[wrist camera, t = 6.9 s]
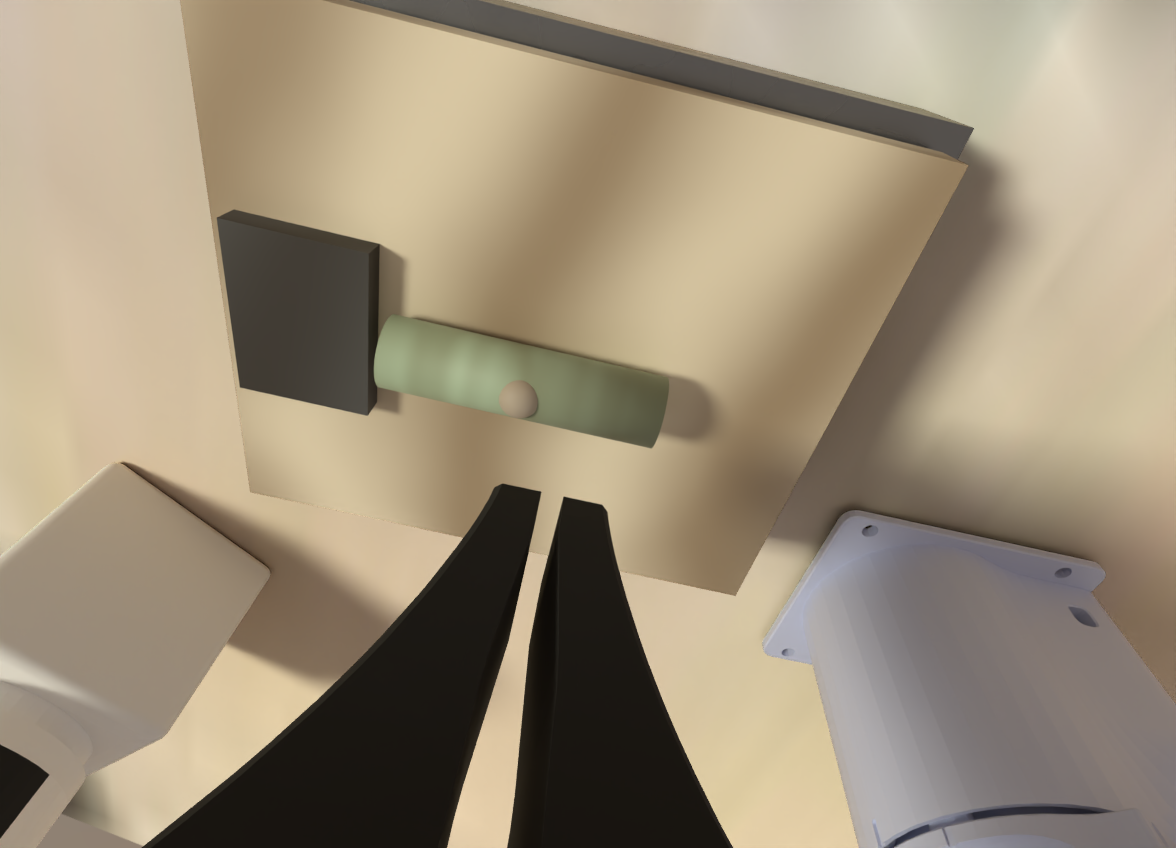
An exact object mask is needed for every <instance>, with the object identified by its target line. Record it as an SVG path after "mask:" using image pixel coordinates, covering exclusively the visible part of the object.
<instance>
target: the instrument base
mask: <svg viewBox="0 0 1176 848" xmlns="http://www.w3.org/2000/svg"><path fill="white" fill-rule="evenodd" d="M350 1H354V2H358V3H362V4H366V5H369V6H373V7H377V8H381V9H385V10H389V11H393V12H397V13H401V14H405V15H409V16H412V17H416V18H420V19H424V20H428V21H432V22H436V23H440V24H444V25H448V26H451V27H455V28H459V29H463V30H467V31H471V32H475V33H479V34H483V35H487V36H491V37H494V38H498V39H502V40H506V41H510V42H514V43H518V44H522V45H526V46H530V47H533V48H537V49H541V50H545V51H549V52H553V53H557V54H561V55H565V56H569V57H572V58H576V59H580V60H584V61H588V62H592V63H596V64H600V65H604V66H608V67H612V68H615V69H619V70H623V71H627V72H631V73H635V74H639V75H643V76H647V77H651V78H654V79H658V80H662V81H666V82H670V83H674V84H678V85H682V86H686V87H690V88H694V89H697V90H701V91H705V92H709V93H713V94H717V95H721V96H725V97H729V98H733V99H736V100H740V101H744V102H748V103H752V104H756V105H760V106H764V107H768V108H772V109H776V110H779V111H783V112H787V113H791V114H795V115H799V116H803V117H807V118H811V119H815V120H818V121H822V122H826V123H830V124H834V125H838V126H842V127H846V128H850V129H854V130H858V131H861V132H865V133H869V134H873V135H877V136H881V137H885V138H889V139H893V140H897V141H900V142H904V143H908V144H912V145H916V146H920V147H924V148H928V149H932V150H936V151H940V152H943V153H945V154H947V155H949V156H951V157H953V158H955V159H957V160H958V158H959V156H960V154H961V152H962V150H963V148H964V146H965V144H966V143H967V141H968V139H969V137H970V135H971V133H972V131H973V129H974V128H972V127H969V126H967V125H964V124H961V123H959V122H956V121H953V120H951V119H948V118H945V117H943V116H940V115H937V114H935V113H932V112H929V111H927V110H924V109H921V108H917V107H913V106H909V105H905V104H902V103H898V102H894V101H890V100H886V99H882V98H878V97H875V96H871V95H867V94H863V93H859V92H855V91H851V90H848V89H844V88H840V87H836V86H832V85H828V84H824V83H821V82H817V81H813V80H809V79H805V78H801V77H797V76H794V75H790V74H786V73H782V72H778V71H774V70H770V69H767V68H763V67H759V66H755V65H751V64H747V63H743V62H740V61H736V60H732V59H728V58H724V57H720V56H716V55H713V54H709V53H705V52H701V51H697V50H693V49H689V48H686V47H682V46H678V45H674V44H670V43H666V42H662V41H659V40H655V39H651V38H647V37H643V36H639V35H635V34H632V33H628V32H624V31H620V30H616V29H612V28H608V27H604V26H601V25H597V24H593V23H589V22H585V21H581V20H577V19H574V18H570V17H566V16H562V15H558V14H554V13H550V12H547V11H543V10H539V9H535V8H531V7H527V6H523V5H520V4H516V3H512V2H508V1H504V0H350Z"/></svg>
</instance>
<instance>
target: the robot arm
mask: <svg viewBox="0 0 1176 848" xmlns="http://www.w3.org/2000/svg"><path fill="white" fill-rule="evenodd" d="M540 497H541V491H536V490H531V489H527V488H522V487H517V486H513V485H508V484H503V483H502V484H500V485H498V486H496V487H494V489H493V491H492V493H491V495H490V497H489V499H488V501H487V503H486V504H485V506H484V508H483V509H482V511H481V513H480V514H479V516H478V517H477V519H476V520H475V522H474V523H473V525H472V526H471V528H470V529H469V531H468V532H467V534H466V535H465V536H464V538H463V539H462V541H461V542H460V543H459V545H458V546H457V547H456V549H455V550H454V551H453V553H452V554H451V555H450V556H449V558H448V559H447V560H446V561H445V563H444V564H443V565H442V567H441V568H440V569H439V570H438V572H437V573H436V574H435V575H434V577H433V578H432V579H431V581H430V582H429V583H428V584H427V585H426V587H425V588H424V589H423V590H422V591H421V593H420V594H419V595H418V596H417V597H416V598H415V599H414V600H413V602H412V603H411V604H410V605H409V606H408V607H407V608H406V609H405V610H404V612H403V613H402V614H401V615H400V616H399V617H398V618H397V619H396V621H395V622H394V623H393V624H392V625H391V626H390V627H389V628H388V630H387V631H386V632H385V633H384V634H383V635H382V636H381V637H380V638H379V639H378V640H377V641H376V642H375V643H374V644H373V645H372V647H371V648H370V649H369V650H368V651H367V652H366V653H365V654H364V655H363V656H362V657H361V658H360V659H359V660H358V661H357V662H356V663H355V664H354V665H353V666H352V667H351V668H350V669H349V670H348V671H347V672H346V673H345V674H344V675H343V676H342V677H341V678H340V679H339V680H338V681H337V682H335V683H334V684H333V685H332V686H331V687H330V688H329V689H328V690H327V691H326V692H325V693H324V694H323V695H322V696H321V697H320V698H319V699H318V700H317V701H316V702H315V703H313V704H312V705H311V706H310V707H309V708H308V709H307V710H306V711H305V712H303V713H302V714H301V715H300V716H299V717H298V718H297V719H296V720H295V721H293V722H292V723H291V724H290V725H289V726H288V727H287V728H286V729H285V730H283V731H282V732H281V733H280V734H279V735H278V736H277V737H276V738H275V739H274V740H272V741H271V742H270V743H269V744H268V745H267V746H266V747H264V748H263V749H262V750H261V751H260V752H259V753H257V754H256V755H255V756H254V757H253V758H252V759H251V760H249V761H248V762H247V763H246V764H245V765H243V766H242V767H241V768H240V769H239V770H238V771H236V772H235V773H234V774H233V775H232V776H230V777H229V778H228V779H227V780H225V781H224V782H223V783H222V784H220V785H219V786H218V787H217V788H215V789H214V790H213V791H212V792H211V793H209V794H208V795H207V796H206V797H204V798H203V799H202V800H201V801H199V802H198V803H197V804H196V805H194V806H193V807H192V808H191V809H189V810H188V811H187V812H186V813H184V814H183V815H182V816H181V817H179V818H178V819H177V820H176V821H174V822H173V823H172V824H171V825H169V826H168V827H167V828H166V829H164V830H163V831H162V832H161V833H159V834H158V835H157V836H156V837H154V838H153V839H152V840H151V841H149V842H148V843H147V844H146V845H144V846H143V847H142V848H447V845H448V841H449V837H450V832H451V828H452V824H453V820H454V816H455V812H456V809H457V805H458V802H459V798H460V794H461V791H462V787H463V784H464V781H465V777H466V774H467V771H468V768H469V765H470V761H471V758H472V755H473V752H474V749H475V746H476V742H477V739H478V736H479V733H480V730H481V727H482V723H483V720H484V717H485V714H486V711H487V708H488V704H489V701H490V698H491V695H492V692H493V688H494V685H495V682H496V679H497V676H498V673H499V669H500V666H501V663H502V660H503V657H504V653H505V650H506V647H507V644H508V641H509V636H510V632H511V627H512V623H513V619H514V614H515V610H516V605H517V601H518V597H519V592H520V588H521V583H522V579H523V574H524V570H525V566H526V561H527V557H528V552H529V548H530V544H531V539H532V535H533V530H534V526H535V521H536V516H537V512H538V507H539V502H540ZM869 525H872V527H870V528H865V527H867V526H869ZM1105 577H1106V573H1105V571H1104V570H1103V569H1102V567H1101V566H1100V565H1099V564H1098V563H1096V562H1094V561H1089V560H1084V559H1080V558H1075V557H1071V556H1066V555H1062V554H1057V553H1052V552H1048V551H1043V550H1039V549H1034V548H1030V547H1025V546H1020V545H1016V544H1011V543H1007V542H1002V541H998V540H993V539H988V538H984V537H979V536H975V535H970V534H966V533H961V532H956V531H952V530H947V529H943V528H938V527H934V526H929V525H924V524H920V523H915V522H911V521H906V520H902V519H897V518H892V517H888V516H883V515H879V514H874V513H869V512H865V511H860V510H852V511H848V512H846V513H844V514H842V515H841V517H840V518H839V519H838V521H837V522H836V524H835V525H834V527H833V529H832V530H831V532H830V533H829V535H828V537H827V538H826V540H825V542H824V543H823V545H822V546H821V548H820V550H819V551H818V553H817V554H816V556H815V558H814V559H813V561H812V562H811V564H810V566H809V567H808V569H807V570H806V572H805V574H804V575H803V577H802V578H801V580H800V582H799V583H798V585H797V586H796V588H795V590H794V591H793V593H792V595H791V596H790V598H789V599H788V601H787V603H786V604H785V606H784V607H783V609H782V611H781V612H780V614H779V615H778V617H777V619H776V620H775V622H774V623H773V625H772V627H771V628H770V630H769V631H768V633H767V635H766V636H765V638H764V639H763V642H762V645H763V650H764V652H765V653H766V654H767V655H769V656H772V657H777V658H782V659H787V660H792V661H797V662H802V663H807V664H812V665H813V669H814V673H815V677H816V681H817V685H818V689H819V692H820V696H821V700H822V704H823V708H824V712H825V716H826V720H827V724H828V728H829V732H830V736H831V740H832V744H833V748H834V752H835V756H836V760H837V764H838V768H839V771H840V775H841V779H842V783H843V787H844V791H845V795H846V799H847V803H848V807H849V811H850V815H851V819H852V823H853V827H854V831H855V835H856V839H857V843H858V846H859V848H1176V704H1175V702H1174V701H1173V700H1172V698H1171V697H1170V696H1169V694H1168V693H1167V692H1166V691H1165V689H1164V688H1163V687H1162V685H1161V684H1160V683H1159V681H1158V680H1157V679H1156V677H1155V676H1154V675H1153V673H1152V672H1151V671H1150V669H1149V668H1148V667H1147V665H1146V664H1145V663H1144V662H1143V660H1142V659H1141V658H1140V656H1139V655H1138V654H1137V652H1136V651H1135V650H1134V648H1133V647H1132V646H1131V644H1130V643H1129V642H1128V640H1127V639H1126V638H1125V637H1124V635H1123V634H1122V633H1121V631H1120V630H1119V629H1118V627H1117V626H1116V625H1115V623H1114V622H1113V621H1112V619H1111V618H1110V617H1109V615H1108V614H1107V613H1106V611H1105V610H1104V609H1103V608H1102V606H1101V605H1100V604H1099V602H1098V601H1097V600H1096V598H1095V597H1094V596H1093V594H1092V593H1091V592H1092V591H1093V590H1094V589H1095V588H1096V587H1097V586H1098V585H1099V584H1100V583H1101V582H1102V581H1103V580H1104V578H1105ZM507 848H733V847H732V845H731V843H730V841H729V839H728V838H727V836H726V834H725V832H724V830H723V829H722V827H721V825H720V823H719V821H718V819H717V817H716V815H715V813H714V811H713V809H712V807H711V805H710V803H709V801H708V799H707V797H706V795H705V793H704V791H703V789H702V787H701V785H700V783H699V781H698V779H697V777H696V775H695V772H694V770H693V768H692V766H691V764H690V762H689V759H688V757H687V755H686V753H685V751H684V748H683V746H682V744H681V742H680V740H679V738H678V735H677V733H676V731H675V728H674V726H673V724H672V721H671V719H670V717H669V714H668V712H667V710H666V707H665V705H664V702H663V700H662V697H661V695H660V692H659V690H658V687H657V685H656V682H655V679H654V677H653V674H652V672H651V669H650V666H649V664H648V661H647V658H646V655H645V653H644V650H643V647H642V644H641V641H640V638H639V635H638V632H637V629H636V626H635V623H634V620H633V617H632V613H631V610H630V607H629V604H628V601H627V598H626V594H625V591H624V587H623V584H622V580H621V576H620V572H619V568H618V564H617V560H616V556H615V552H614V547H613V543H612V538H611V532H610V527H609V520H608V512H607V510H606V509H605V508H604V506H603V505H602V504H597V503H592V502H587V501H583V500H578V499H573V498H569V497H563V500H562V504H561V508H560V512H559V516H558V520H557V524H556V528H555V532H554V536H553V540H552V544H551V547H550V551H549V555H548V559H547V563H546V567H545V571H544V575H543V579H542V583H541V588H540V593H539V598H538V603H537V608H536V613H535V618H534V623H533V629H532V634H531V639H530V644H529V654H528V664H527V674H526V684H525V695H524V705H523V716H522V726H521V737H520V747H519V758H518V768H517V779H516V789H515V798H514V806H513V814H512V821H511V829H510V835H509V840H508V846H507Z"/></svg>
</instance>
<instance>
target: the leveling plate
mask: <svg viewBox="0 0 1176 848" xmlns="http://www.w3.org/2000/svg"><path fill="white" fill-rule="evenodd" d="M180 3H181V10H182V17H183V24H184V31H185V38H186V45H187V52H188V59H189V66H190V73H191V80H192V87H193V94H194V101H195V108H196V115H197V122H198V129H199V136H200V143H201V150H202V157H203V164H204V171H205V178H206V185H207V192H208V199H209V206H210V213H211V221H212V228H213V235H214V242H215V249H216V256H217V263H218V270H219V277H220V284H221V291H222V298H223V305H224V312H225V319H226V326H227V333H228V340H229V347H230V354H231V361H232V368H233V375H234V382H235V389H236V396H237V403H238V410H239V417H240V424H241V431H242V438H243V445H244V452H245V459H246V466H247V473H248V480H249V487H250V492H252V493H257V494H261V495H266V496H271V497H275V498H280V499H285V500H289V501H294V502H299V503H303V504H308V505H313V506H317V507H322V508H327V509H331V510H336V511H341V512H345V513H350V514H355V515H360V516H364V517H369V518H374V519H378V520H383V521H388V522H392V523H397V524H402V525H406V526H411V527H416V528H420V529H425V530H430V531H434V532H439V533H444V534H449V535H453V536H458V537H463V538H464V536H465V535H466V534H467V532H468V531H469V529H470V528H471V526H472V525H473V523H474V522H475V520H476V519H477V517H478V516H479V514H480V513H481V511H482V509H483V508H484V506H485V504H486V503H487V501H488V499H489V497H490V495H491V493H492V491H493V489H494V487H496V486H498V485H500V484H502V483H503V484H508V485H513V486H517V487H522V488H527V489H531V490H536V491H541V497H540V502H539V507H538V512H537V516H536V521H535V526H534V530H533V535H532V539H531V544H530V548H529V552H533V553H538V554H542V555H547V556H548V555H549V551H550V547H551V544H552V540H553V536H554V532H555V528H556V524H557V520H558V516H559V512H560V508H561V504H562V500H563V497H569V498H573V499H578V500H583V501H587V502H592V503H597V504H602V505H603V506H604V508H605V509H606V510H607V512H608V520H609V527H610V532H611V538H612V543H613V547H614V552H615V556H616V560H617V564H618V568H619V571H622V572H627V573H631V574H636V575H641V576H645V577H650V578H655V579H659V580H664V581H669V582H673V583H678V584H683V585H687V586H692V587H697V588H701V589H706V590H711V591H716V592H720V593H725V594H730V595H734V596H735V595H736V594H737V592H738V590H739V588H740V586H741V584H742V583H743V581H744V579H745V577H746V575H747V573H748V571H749V570H750V568H751V566H752V564H753V562H754V560H755V559H756V557H757V555H758V553H759V551H760V549H761V547H762V546H763V544H764V542H765V540H766V538H767V536H768V535H769V533H770V531H771V529H772V527H773V525H774V523H775V522H776V520H777V518H778V516H779V514H780V512H781V511H782V509H783V507H784V505H785V503H786V501H787V500H788V498H789V496H790V494H791V492H792V490H793V488H794V487H795V485H796V483H797V481H798V479H799V477H800V476H801V474H802V472H803V470H804V468H805V466H806V464H807V463H808V461H809V459H810V457H811V455H812V453H813V452H814V450H815V448H816V446H817V444H818V442H819V440H820V439H821V437H822V435H823V433H824V431H825V429H826V428H827V426H828V424H829V422H830V420H831V418H832V417H833V415H834V413H835V411H836V409H837V407H838V405H839V404H840V402H841V400H842V398H843V396H844V394H845V393H846V391H847V389H848V387H849V385H850V383H851V381H852V380H853V378H854V376H855V374H856V372H857V370H858V369H859V367H860V365H861V363H862V361H863V359H864V357H865V356H866V354H867V352H868V350H869V348H870V346H871V345H872V343H873V341H874V339H875V337H876V335H877V334H878V332H879V330H880V328H881V326H882V324H883V322H884V321H885V319H886V317H887V315H888V313H889V311H890V310H891V308H892V306H893V304H894V302H895V300H896V298H897V297H898V295H899V293H900V291H901V289H902V287H903V286H904V284H905V282H906V280H907V278H908V276H909V274H910V273H911V271H912V269H913V267H914V265H915V263H916V262H917V260H918V258H919V256H920V254H921V252H922V250H923V249H924V247H925V245H926V243H927V241H928V239H929V238H930V236H931V234H932V232H933V230H934V228H935V227H936V225H937V223H938V221H939V219H940V217H941V215H942V214H943V212H944V210H945V208H946V206H947V204H948V203H949V201H950V199H951V197H952V195H953V193H954V191H955V190H956V188H957V186H958V184H959V182H960V180H961V179H962V177H963V175H964V173H965V171H966V169H967V167H968V166H969V165H967V164H965V163H963V162H961V161H959V160H957V159H955V158H953V157H951V156H949V155H947V154H945V153H943V152H940V151H936V150H932V149H928V148H924V147H920V146H916V145H912V144H908V143H904V142H900V141H897V140H893V139H889V138H885V137H881V136H877V135H873V134H869V133H865V132H861V131H858V130H854V129H850V128H846V127H842V126H838V125H834V124H830V123H826V122H822V121H818V120H815V119H811V118H807V117H803V116H799V115H795V114H791V113H787V112H783V111H779V110H776V109H772V108H768V107H764V106H760V105H756V104H752V103H748V102H744V101H740V100H736V99H733V98H729V97H725V96H721V95H717V94H713V93H709V92H705V91H701V90H697V89H694V88H690V87H686V86H682V85H678V84H674V83H670V82H666V81H662V80H658V79H654V78H651V77H647V76H643V75H639V74H635V73H631V72H627V71H623V70H619V69H615V68H612V67H608V66H604V65H600V64H596V63H592V62H588V61H584V60H580V59H576V58H572V57H569V56H565V55H561V54H557V53H553V52H549V51H545V50H541V49H537V48H533V47H530V46H526V45H522V44H518V43H514V42H510V41H506V40H502V39H498V38H494V37H491V36H487V35H483V34H479V33H475V32H471V31H467V30H463V29H459V28H455V27H451V26H448V25H444V24H440V23H436V22H432V21H428V20H424V19H420V18H416V17H412V16H409V15H405V14H401V13H397V12H393V11H389V10H385V9H381V8H377V7H373V6H369V5H366V4H362V3H358V2H354V1H350V0H180Z"/></svg>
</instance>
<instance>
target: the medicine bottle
mask: <svg viewBox="0 0 1176 848" xmlns="http://www.w3.org/2000/svg"><path fill="white" fill-rule="evenodd" d="M270 574H271V573H270V570H269V568H268V567H266V566H265V565H264V564H262V563H261V562H259V561H258V560H257V559H255V558H254V557H252V556H251V555H250V554H248V553H247V552H245V551H244V550H243V549H241V548H240V547H238V546H237V545H236V544H234V543H233V542H231V541H230V540H229V539H227V538H226V537H224V536H223V535H222V534H220V533H219V532H217V531H216V530H215V529H213V528H212V527H210V526H209V525H208V524H206V523H205V522H203V521H202V520H201V519H199V518H198V517H196V516H195V515H194V514H192V513H191V512H189V511H188V510H187V509H185V508H184V507H182V506H181V505H180V504H178V503H177V502H175V501H174V500H173V499H171V498H170V497H168V496H167V495H166V494H164V493H163V492H161V491H160V490H159V489H157V488H156V487H154V486H153V485H152V484H150V483H149V482H147V481H146V480H145V479H143V478H142V477H140V476H139V475H138V474H136V473H135V472H133V471H132V470H131V469H129V468H128V467H126V466H125V465H123V464H121V463H111V464H109V465H106V466H105V467H104V468H103V469H101V470H100V471H99V472H98V473H97V474H96V475H94V476H93V477H92V478H91V479H90V480H89V481H87V482H86V483H85V484H84V485H83V486H81V487H80V488H79V489H78V490H77V491H76V492H74V493H73V494H72V495H71V496H70V497H69V498H67V499H66V500H65V501H64V502H63V503H62V504H60V505H59V506H58V507H57V508H56V509H55V510H53V511H52V512H51V513H50V514H49V515H48V516H46V517H45V518H44V519H43V520H42V521H40V522H39V523H38V524H37V525H36V526H35V527H33V528H32V529H31V530H30V531H29V532H28V533H26V534H25V535H24V536H23V537H22V538H21V539H19V540H18V541H17V542H16V543H15V544H14V545H12V546H11V547H10V548H9V549H8V550H6V551H5V552H4V553H3V554H2V555H1V556H0V848H36V847H37V846H38V845H39V843H40V842H41V840H42V839H43V838H44V836H45V835H46V833H47V832H48V831H49V829H50V828H51V826H52V825H53V824H54V822H55V821H56V820H57V818H58V817H59V815H60V814H61V813H62V811H63V810H64V809H65V807H66V806H67V805H68V803H69V802H70V800H71V799H72V798H73V796H74V795H75V793H76V792H77V791H78V789H79V788H80V787H81V785H82V784H83V782H84V781H85V777H86V776H88V775H90V774H92V773H94V772H96V771H98V770H100V769H102V768H104V767H106V766H108V765H110V764H112V763H114V762H116V761H118V760H120V759H122V758H124V757H126V756H128V755H130V754H132V753H134V752H136V751H138V750H140V749H142V748H144V747H146V746H148V745H150V744H152V743H154V742H156V741H158V740H160V739H162V738H163V737H164V736H165V735H166V734H167V733H168V731H169V730H170V728H171V727H172V725H173V724H174V722H175V721H176V719H177V718H178V716H179V715H180V713H181V712H182V710H183V709H184V707H185V706H186V704H187V703H188V701H189V700H190V698H191V696H192V695H193V693H194V692H195V690H196V689H197V687H198V686H199V684H200V683H201V681H202V680H203V678H204V677H205V675H206V674H207V672H208V671H209V669H210V668H211V666H212V664H213V663H214V661H215V660H216V658H217V657H218V655H219V654H220V652H221V651H222V649H223V648H224V646H225V645H226V643H227V642H228V640H229V639H230V637H231V636H232V634H233V633H234V631H235V629H236V628H237V626H238V625H239V623H240V622H241V620H242V619H243V617H244V616H245V614H246V613H247V611H248V610H249V608H250V607H251V605H252V604H253V602H254V601H255V599H256V598H257V596H258V594H259V593H260V591H261V590H262V588H263V587H264V585H265V584H266V582H267V581H268V579H269V578H270Z"/></svg>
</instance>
